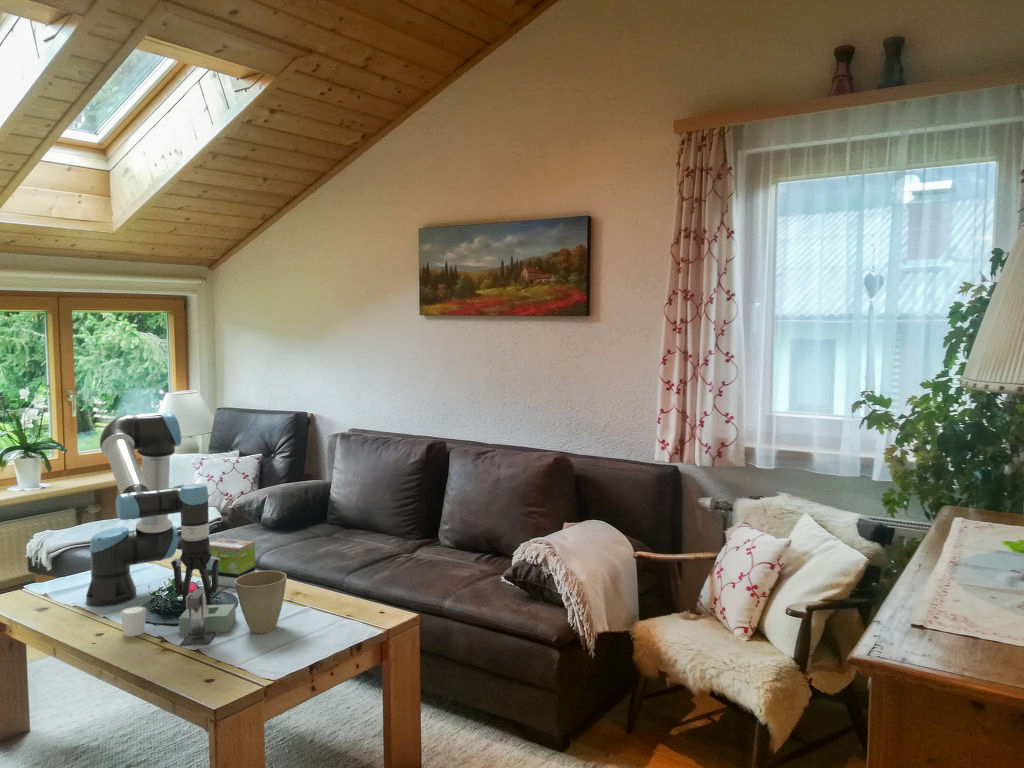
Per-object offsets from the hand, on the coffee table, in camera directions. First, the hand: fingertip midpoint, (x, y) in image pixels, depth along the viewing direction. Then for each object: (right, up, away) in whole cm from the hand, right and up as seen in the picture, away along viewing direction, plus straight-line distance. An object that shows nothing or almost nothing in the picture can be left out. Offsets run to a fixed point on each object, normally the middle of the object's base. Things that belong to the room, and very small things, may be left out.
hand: (197, 615), depth 220 cm
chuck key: (0, -5, 0) cm, 5 cm away
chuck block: (-1, -7, +10) cm, 12 cm away
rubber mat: (0, -7, 0) cm, 7 cm away
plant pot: (+16, -7, +8) cm, 19 cm away
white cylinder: (-22, -7, +6) cm, 24 cm away
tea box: (-10, -4, +53) cm, 54 cm away
